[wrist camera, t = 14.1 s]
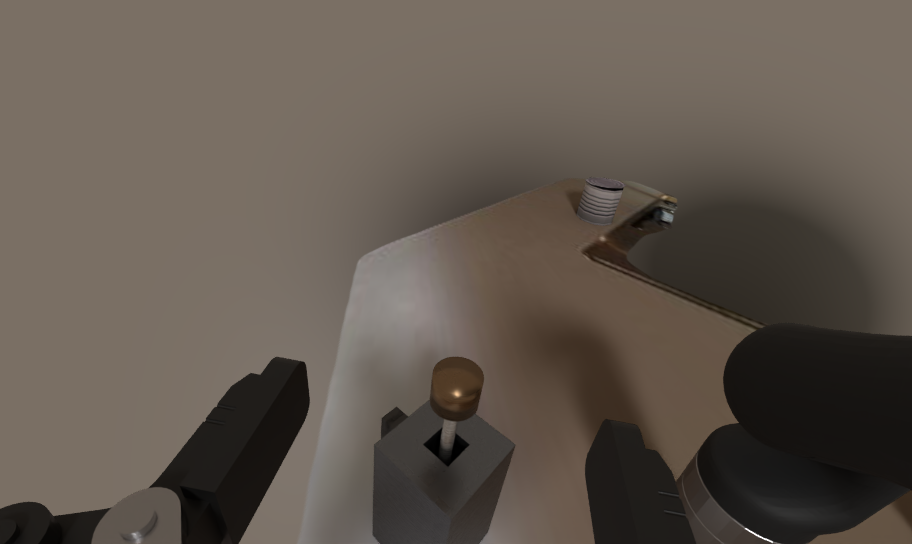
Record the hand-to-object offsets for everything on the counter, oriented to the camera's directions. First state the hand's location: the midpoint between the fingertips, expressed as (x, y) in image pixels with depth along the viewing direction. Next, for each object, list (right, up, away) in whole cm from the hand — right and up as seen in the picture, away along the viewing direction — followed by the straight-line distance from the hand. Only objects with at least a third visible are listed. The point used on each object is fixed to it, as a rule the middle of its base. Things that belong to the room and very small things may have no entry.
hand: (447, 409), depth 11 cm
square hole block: (-4, -25, +35) cm, 43 cm away
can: (+44, +21, +117) cm, 126 cm away
